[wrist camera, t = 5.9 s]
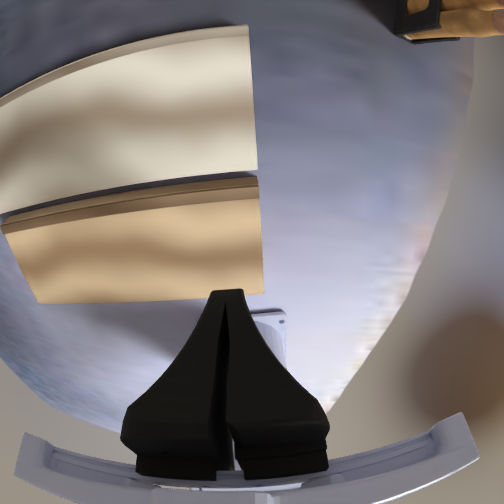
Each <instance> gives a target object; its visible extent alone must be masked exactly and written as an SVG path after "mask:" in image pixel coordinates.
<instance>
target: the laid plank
mask: <svg viewBox="0 0 504 504" xmlns="http://www.w3.org/2000/svg"><path fill="white" fill-rule="evenodd" d="M0 227H1V230H2V232H3V234H5V236H6V238H7V240H8V243H9V245H10V247H11V249H12V252H13V254H14V256H15V258H16V260H17V262H18V264H19V266H20V268H21V270H22V272H23V274H24V276H25V278H26V280H27V282H28V284H29V286H30V288H31V290H32V291H33V293H34V295H35V297H36V299H37V300H38V302H39V304H81V303H120V302H145V301H166V300H184V299H200V298H209V296H210V293H211V292H212V291H213V290H225V289H237V288H241V289H243V290H244V295H253V294H264V276H263V257H262V238H261V220H260V203H259V185H258V180H257V176H256V177H243V178H232V179H221V180H211V181H202V182H193V183H185V184H177V185H169V186H161V187H154V188H147V189H141V190H134V191H128V192H122V193H116V194H110V195H104V196H99V197H94V198H88V199H83V200H78V201H73V202H68V203H64V204H59V205H54V206H50V207H45V208H41V209H37V210H33V211H28V212H24V213H20V214H17V215H13V216H10V217H9V218H7V219H6V220H5V221H4V222H3V223H2V224H1V226H0Z"/></svg>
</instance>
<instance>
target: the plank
mask: <svg viewBox="0 0 504 504" xmlns="http://www.w3.org/2000/svg"><path fill="white" fill-rule="evenodd" d="M248 170H258V167H257V151H256V134H255V119H254V103H253V88H252V74H251V60H250V46H249V30H248V25H237V26H224V27H215V28H206V29H198V30H192V31H185V32H179V33H174V34H169V35H164V36H159V37H154V38H150V39H145V40H141V41H137V42H134V43H130V44H126V45H123V46H119V47H116V48H113V49H109V50H106V51H103V52H100V53H97V54H94V55H91V56H89V57H86V58H83V59H80V60H78V61H75V62H73V63H70V64H68V65H65V66H63V67H61V68H58V69H56V70H54V71H51V72H49V73H47V74H45V75H43V76H41V77H39V78H37V79H35V80H32V81H31V82H29V83H27V84H25V85H23V86H21V87H19V88H17V89H15V90H14V91H12V92H10V93H8V94H7V95H5V96H3V97H2V98H0V214H2V213H5V212H9V211H12V210H16V209H20V208H23V207H27V206H31V205H35V204H39V203H43V202H47V201H52V200H56V199H60V198H65V197H69V196H74V195H79V194H83V193H88V192H93V191H98V190H104V189H109V188H115V187H120V186H126V185H132V184H138V183H145V182H151V181H158V180H165V179H173V178H180V177H188V176H197V175H206V174H215V173H225V172H236V171H248Z"/></svg>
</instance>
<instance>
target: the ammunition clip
mask: <svg viewBox="0 0 504 504" xmlns="http://www.w3.org/2000/svg"><path fill="white" fill-rule="evenodd" d="M494 9H504V0H398V7H397V14H396V21H395V27H394V34H395V35H396V36H398V37H400V38H402V39H404V40H406V41H408V42H410V43H412V44H414V45H415V44H423V43H431V42H441V41H458V40H460V37H487V36H491V35H504V12H497V11H491V10H494Z"/></svg>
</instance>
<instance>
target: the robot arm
mask: <svg viewBox="0 0 504 504" xmlns="http://www.w3.org/2000/svg"><path fill="white" fill-rule="evenodd" d="M280 320H282V321H280ZM286 335H287V315H286V313H285V312H272V313H261V314H250V311H249V309H248V306H247V303H246V300H245V296H244V290H243V289H241V288H237V289H225V290H213V291H212V292H211V293H210V296H209V298H208V301H207V304H206V306H205V308H204V311H203V313H202V315H201V317H200V319H199V321H198V323H197V325H196V327H195V329H194V330H193V332H192V334H191V336H190V337H189V339H188V341H187V342H186V344H185V345H184V347H183V349H182V350H181V351H180V353H179V354H178V356H177V357H176V358H175V360H174V361H173V362H172V364H171V365H170V366H169V367H168V369H167V370H166V371H165V372H164V373H163V374H162V376H161V377H160V378H159V379H158V380H157V381H156V382H155V383H154V384H153V385H152V386H151V387H150V388H149V389H148V390H147V391H146V392H145V393H144V394H143V395H142V396H140V397H139V398H138V399H137V400H136V401H135V402H133V403H132V404H131V405H130V406H129V407H128V408H127V411H126V414H125V417H124V420H123V425H122V430H121V436H120V439H121V441H122V443H123V444H124V445H125V446H126V447H128V448H129V449H130V450H132V451H133V452H134V453H135V454H137V460H136V465H132V464H126V463H120V462H115V461H109V460H104V459H100V458H95V457H90V456H86V455H82V454H79V453H75V452H71V451H68V450H64V449H61V448H57V447H54V446H53V445H52V444H50V443H49V442H48V441H46V440H44V439H42V438H40V437H37V436H34V435H31V434H28V433H24V436H23V439H22V443H21V447H20V451H19V455H18V459H17V463H16V468H15V472H14V475H15V476H16V477H18V478H20V479H22V480H24V481H26V482H28V483H30V484H32V485H34V486H36V487H38V488H40V489H42V490H45V491H47V492H49V493H52V494H54V495H56V496H59V497H62V498H64V499H67V500H70V501H73V502H75V503H78V504H383V503H386V502H389V501H392V500H395V499H398V498H400V497H403V496H405V495H408V494H411V493H413V492H415V491H418V490H420V489H422V488H425V487H427V486H429V485H431V484H434V483H436V482H438V481H440V480H442V479H444V478H446V477H448V476H450V475H452V474H454V473H456V472H457V471H459V470H461V469H463V468H465V467H466V466H468V465H470V464H471V463H473V462H475V461H476V460H478V459H479V454H478V451H477V448H476V446H475V443H474V440H473V437H472V435H471V433H470V430H469V427H468V425H467V422H466V420H465V418H464V415H463V413H462V412H459V413H457V414H455V415H453V416H451V417H448V418H446V419H444V420H442V421H440V422H438V423H437V424H435V425H434V426H433V427H432V428H431V430H429V431H427V432H424V433H421V434H419V435H416V436H413V437H411V438H408V439H405V440H402V441H399V442H396V443H393V444H390V445H387V446H383V447H380V448H377V449H373V450H369V451H366V452H362V453H358V454H354V455H350V456H345V457H341V458H336V459H331V460H328V458H327V453H326V449H327V445H326V440H325V438H326V436H327V434H328V432H329V430H330V425H329V422H328V419H327V416H326V414H325V412H324V410H323V408H322V407H321V405H320V403H319V402H318V400H317V399H316V398H315V397H314V396H312V395H311V394H310V393H309V392H308V391H307V390H306V389H305V388H303V387H302V386H301V385H300V384H299V383H298V382H297V381H296V380H295V379H294V378H293V376H292V375H291V374H290V373H289V372H288V371H287V366H286ZM153 484H156V485H153ZM158 485H165V486H176V487H188V488H189V490H182V489H169V488H161V487H160V486H158Z"/></svg>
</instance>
